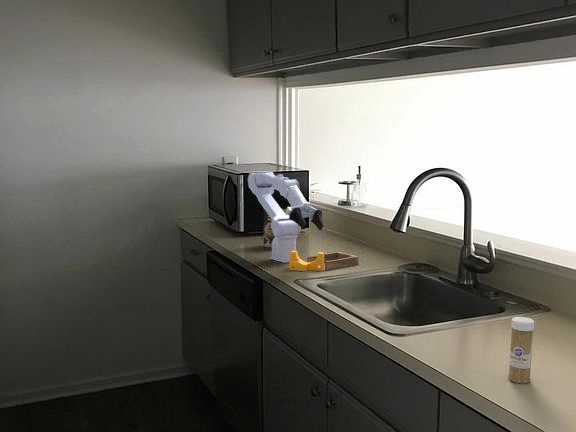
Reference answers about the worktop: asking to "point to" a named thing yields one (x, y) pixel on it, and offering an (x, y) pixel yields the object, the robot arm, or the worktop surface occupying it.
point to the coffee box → (269, 229)
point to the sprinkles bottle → (521, 349)
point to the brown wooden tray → (336, 260)
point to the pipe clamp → (301, 265)
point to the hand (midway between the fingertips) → (313, 227)
